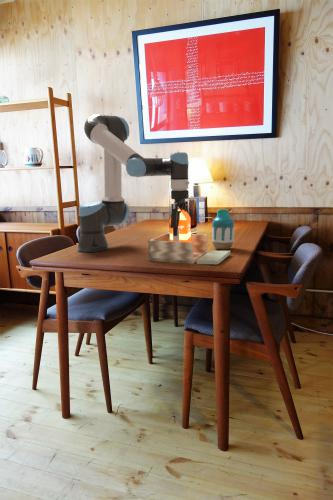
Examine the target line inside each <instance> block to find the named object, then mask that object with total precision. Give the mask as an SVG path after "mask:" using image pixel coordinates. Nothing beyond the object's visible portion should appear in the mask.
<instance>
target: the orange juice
mask: <svg viewBox="0 0 333 500" xmlns="http://www.w3.org/2000/svg"><path fill="white" fill-rule="evenodd" d="M178 208H179V207H178ZM178 211H181V210H180V208H179V209H178ZM191 221H192V220H191V216H190V213H189V214H188V213H187V212H185V211H184V210H182V211H181V213H180V220H179V226H178V228H179V242H191V234H192V232H191V231H192V230H191ZM170 223H171V218H170V219H169V224H170ZM169 233H170V241H173V228H170V227H169Z"/></svg>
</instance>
